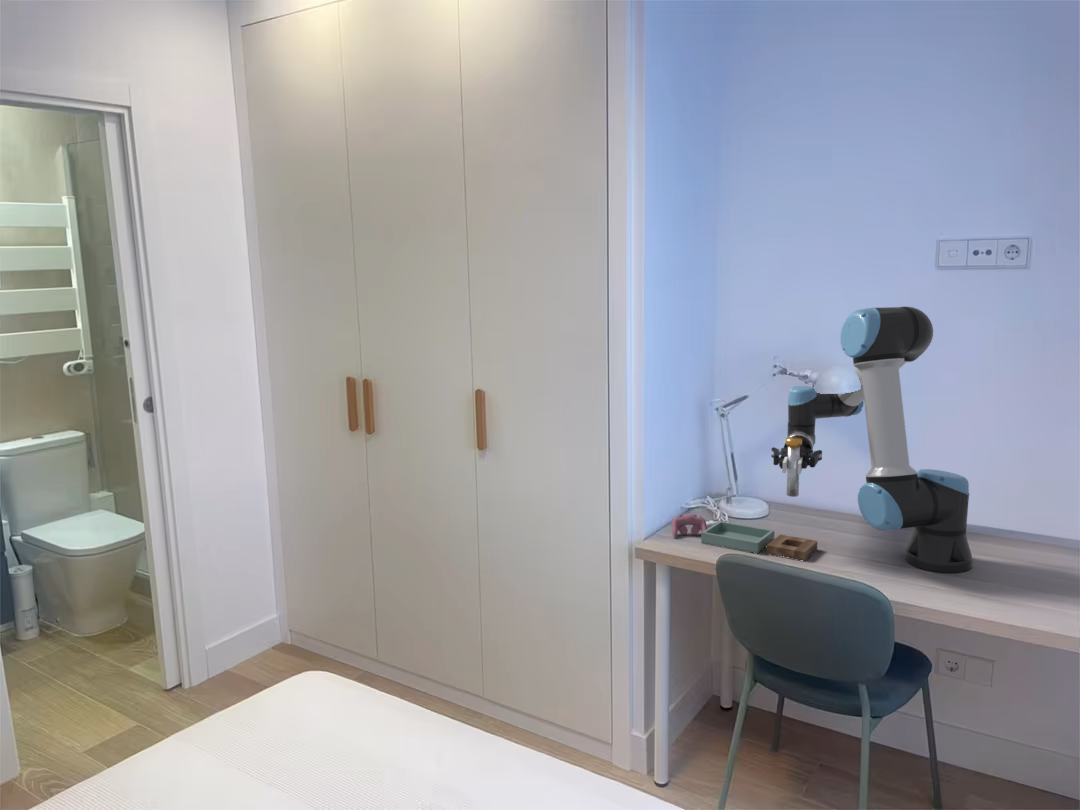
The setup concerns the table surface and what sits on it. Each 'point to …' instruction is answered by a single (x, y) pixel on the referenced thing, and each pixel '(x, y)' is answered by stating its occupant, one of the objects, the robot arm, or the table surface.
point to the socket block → (792, 547)
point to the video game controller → (688, 519)
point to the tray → (737, 536)
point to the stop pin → (793, 465)
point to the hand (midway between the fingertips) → (791, 468)
